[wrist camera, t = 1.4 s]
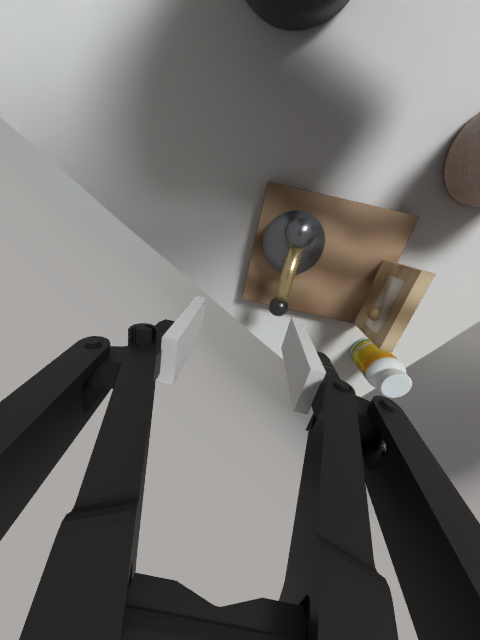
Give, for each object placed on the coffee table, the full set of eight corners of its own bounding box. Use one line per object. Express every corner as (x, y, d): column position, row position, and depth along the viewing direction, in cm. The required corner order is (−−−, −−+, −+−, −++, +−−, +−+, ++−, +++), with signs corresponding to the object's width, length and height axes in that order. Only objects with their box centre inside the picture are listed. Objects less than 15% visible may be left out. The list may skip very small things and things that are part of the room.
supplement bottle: (388, 349, 39) (427, 385, 30) (363, 368, 41) (392, 408, 32) (368, 330, 38) (401, 363, 29) (342, 351, 40) (367, 387, 31)
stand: (267, 184, 30) (271, 167, 21) (409, 216, 31) (474, 214, 22) (242, 294, 37) (238, 318, 28) (361, 321, 37) (394, 353, 28)
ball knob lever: (270, 204, 30) (273, 200, 24) (329, 218, 30) (345, 217, 25) (248, 298, 35) (247, 312, 30) (298, 309, 35) (306, 325, 30)
